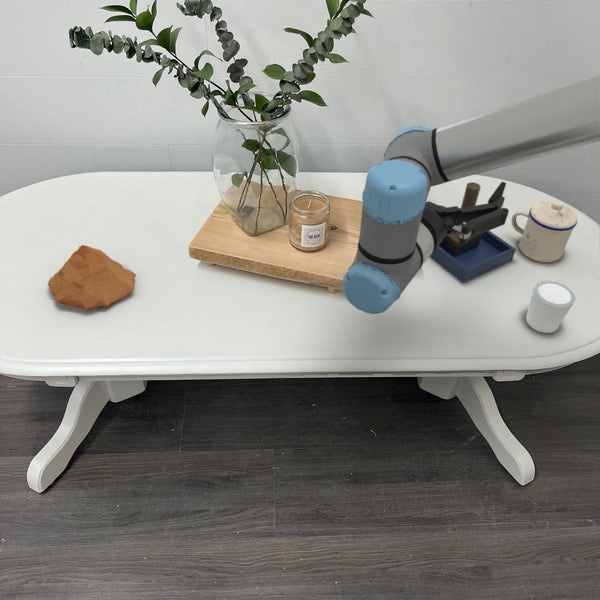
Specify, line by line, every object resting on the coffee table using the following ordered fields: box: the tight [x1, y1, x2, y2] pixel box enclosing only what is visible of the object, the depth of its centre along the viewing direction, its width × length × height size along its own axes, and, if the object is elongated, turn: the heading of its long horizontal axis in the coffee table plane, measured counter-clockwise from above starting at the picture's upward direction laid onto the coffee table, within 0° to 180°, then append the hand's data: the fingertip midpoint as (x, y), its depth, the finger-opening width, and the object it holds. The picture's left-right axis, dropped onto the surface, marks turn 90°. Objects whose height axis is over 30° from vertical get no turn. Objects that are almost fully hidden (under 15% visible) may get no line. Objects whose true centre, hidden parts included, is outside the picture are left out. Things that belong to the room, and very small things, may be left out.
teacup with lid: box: [511, 200, 578, 263], centre depth 116 cm, size 12×9×12 cm
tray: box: [430, 214, 517, 284], centre depth 118 cm, size 18×14×3 cm
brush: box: [439, 181, 483, 257], centre depth 114 cm, size 5×7×14 cm
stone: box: [47, 244, 137, 310], centre depth 106 cm, size 15×15×10 cm
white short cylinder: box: [525, 280, 576, 334], centre depth 101 cm, size 7×7×7 cm
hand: (463, 177), depth 98 cm, fingers open, 13 cm apart
